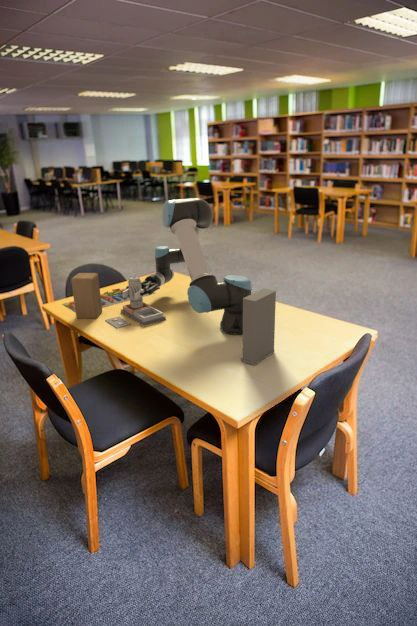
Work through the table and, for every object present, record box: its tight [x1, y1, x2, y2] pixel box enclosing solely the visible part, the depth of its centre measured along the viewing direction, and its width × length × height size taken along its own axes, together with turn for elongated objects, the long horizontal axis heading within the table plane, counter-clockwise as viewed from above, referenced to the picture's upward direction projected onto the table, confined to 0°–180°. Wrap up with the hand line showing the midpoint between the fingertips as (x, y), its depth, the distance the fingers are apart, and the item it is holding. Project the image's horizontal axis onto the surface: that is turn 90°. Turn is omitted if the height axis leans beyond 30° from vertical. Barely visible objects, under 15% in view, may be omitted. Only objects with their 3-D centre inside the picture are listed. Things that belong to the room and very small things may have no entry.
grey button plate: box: [105, 316, 132, 329], centre depth 202 cm, size 12×7×1 cm, turn 37°
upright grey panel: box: [240, 288, 277, 366], centre depth 162 cm, size 14×6×25 cm, turn 140°
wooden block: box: [70, 272, 103, 320], centre depth 208 cm, size 10×10×20 cm
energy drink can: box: [127, 276, 144, 310], centre depth 210 cm, size 6×6×15 cm
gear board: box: [62, 287, 156, 313], centre depth 233 cm, size 45×2×19 cm
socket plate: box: [120, 301, 167, 327], centre depth 208 cm, size 22×12×4 cm, turn 37°
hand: (129, 295), depth 205 cm, fingers closed on energy drink can, 6 cm apart
